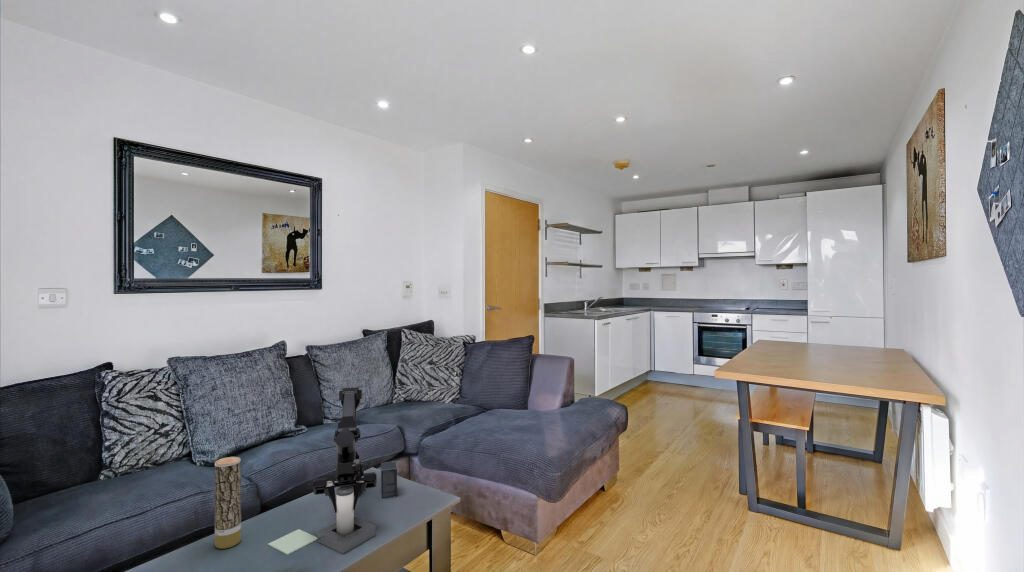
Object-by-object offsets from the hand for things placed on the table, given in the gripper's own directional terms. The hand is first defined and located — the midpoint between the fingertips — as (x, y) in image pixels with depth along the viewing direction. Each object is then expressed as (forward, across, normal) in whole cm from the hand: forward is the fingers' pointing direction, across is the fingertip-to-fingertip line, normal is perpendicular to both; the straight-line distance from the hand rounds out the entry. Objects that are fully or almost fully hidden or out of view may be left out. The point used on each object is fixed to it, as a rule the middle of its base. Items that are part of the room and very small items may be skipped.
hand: (345, 511), depth 143 cm
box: (-14, +14, +28) cm, 34 cm away
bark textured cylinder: (0, -34, +13) cm, 36 cm away
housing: (+6, 0, +7) cm, 9 cm away
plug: (+4, 0, +6) cm, 7 cm away
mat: (+4, -15, +9) cm, 18 cm away
